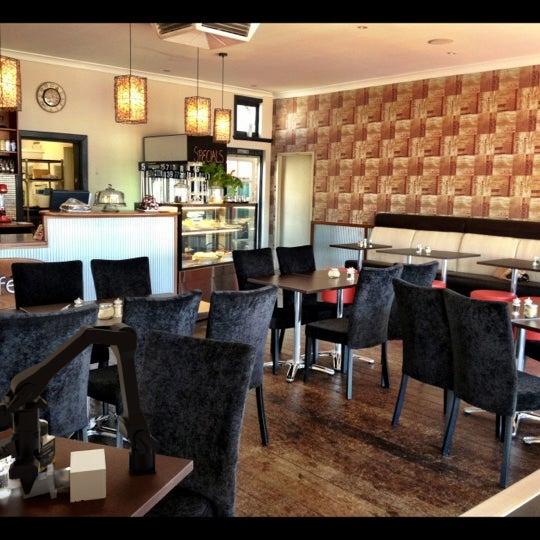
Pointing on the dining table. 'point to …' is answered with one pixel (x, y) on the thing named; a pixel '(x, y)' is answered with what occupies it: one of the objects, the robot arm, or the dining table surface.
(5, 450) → the robot arm
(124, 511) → the dining table surface
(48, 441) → the medicine bottle
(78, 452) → the block
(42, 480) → the grey flanged bar
